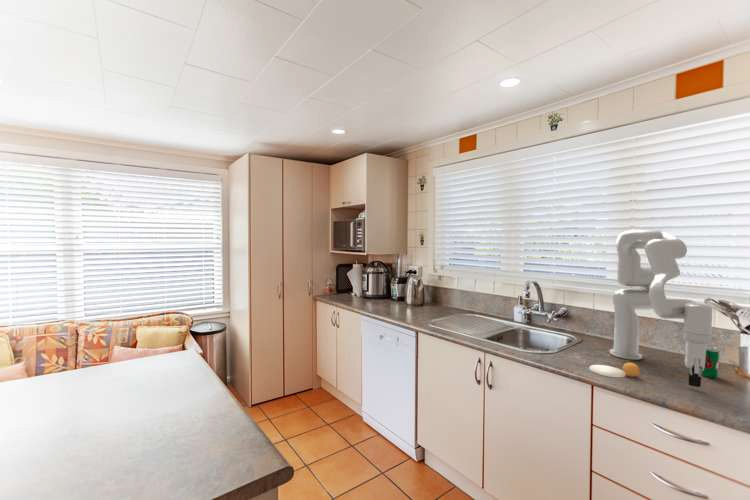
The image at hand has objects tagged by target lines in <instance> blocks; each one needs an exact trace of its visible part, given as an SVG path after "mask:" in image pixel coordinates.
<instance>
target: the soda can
mask: <svg viewBox="0 0 750 500" xmlns="http://www.w3.org/2000/svg"><path fill="white" fill-rule="evenodd" d="M719 360H720V350H719V348H718V347H716V346H713V345H706V357H705V367H704V370H703V371H702V370H701V376H702V377H704V378H709V379H717V378H718V377H719V365H720V364H719V362H720V361H719Z"/></svg>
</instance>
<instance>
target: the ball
mask: <svg viewBox="0 0 750 500" xmlns="http://www.w3.org/2000/svg"><path fill="white" fill-rule="evenodd" d="M640 370H641V369H640V367H639V366H638V365H637V364H636V363H633V362H627V363H624V364H623V366H622V371H624V373H625V374H626V376H628V377H631V378H633V377H634V378H635V377H638V376H639V375H640V372H641V371H640Z"/></svg>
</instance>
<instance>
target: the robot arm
mask: <svg viewBox="0 0 750 500" xmlns="http://www.w3.org/2000/svg"><path fill="white" fill-rule="evenodd" d="M615 248H616V250H617V251H616V252H617V256H618V257H617V259H618V260H617V282H618V284H619V285H621V286H622V287H630V289H629V288H627V289H626V288H625V289H624V288H623V289H618V290H616V291H615V292H613V295H612V302H613V310H614V326H613V329H614V330H613V331H614V332H613V348H611V349H609V354H610V355H612V356H614V357H617V358H621V359H625V360H631V361H633V360H634V361H635V360H637V361H638V360H642V359H643V355H642V354H641V353H639V346H640V345H639V341H640V318H639V316H638V314H637V313H636V311H637V310H639V311H640V310H641V311H643V310H645V311H646V310H647V311H648V310H653V311H654V313H655V315H657V317H659V318H662V319H666V320H667V319H668V320H670V319H672V320H673V319H677V320H683V330H682V340H683V341H685V349H684V352H685V353H684V365H685V367H686V368H687V369H689V373H688V385H689V386H692V387H695V388H696V387H697V388H700V387H701V381H702V374H701V370H702V371H703V370H704V367H705V357H706V346H707V345H711V344H712V343H711V341H712V324H713V307H711V306H710V305H708V304H705V303H698V302H696V301H694V300H691V299H686V298H685V299H679V298H677V299H676V298H667V297H666V293H665V285H666V283H667V282H668V281H670V280H673V279H675V278H677V277H679V276H680V275H681V270H680V268H679V265H678V263H677V260H680V259H683V258H684V257H686V255H687V252H688V247H687V245H686V243H685V242H684V241H682V240H681V239H680V238H678V237H676V236H673V234H669V233H667V232H665V231H662V230H658V229H656V230H655V229H631V230H626V231H623V232H621V233H620V234H619V235H618V236H617V238H616V247H615ZM639 249H640V250H642V249H643V250H644V252H645V255H646V257H647V260H648V263H649V266H641V262H642V261H641V255H640V254H639V252H638V251H637V250H639ZM631 287H632V289H631ZM634 287H636V289H633V288H634ZM637 287H638V288H639V289H638V288H637Z"/></svg>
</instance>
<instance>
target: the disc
mask: <svg viewBox="0 0 750 500" xmlns="http://www.w3.org/2000/svg"><path fill="white" fill-rule="evenodd" d="M588 369H589V370H590V371H591V372H593V373H595V374H597V375H600V376H602V377H603V376H604V377H609V378H615V379H617V378H618V379H619V378H620V379H621V378H625V377H626V376H627V375H626V374H625V373H624V371H623V369H620V368H618V367H614V366H610V365H605V364H593V365H590V366H589V368H588Z"/></svg>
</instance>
